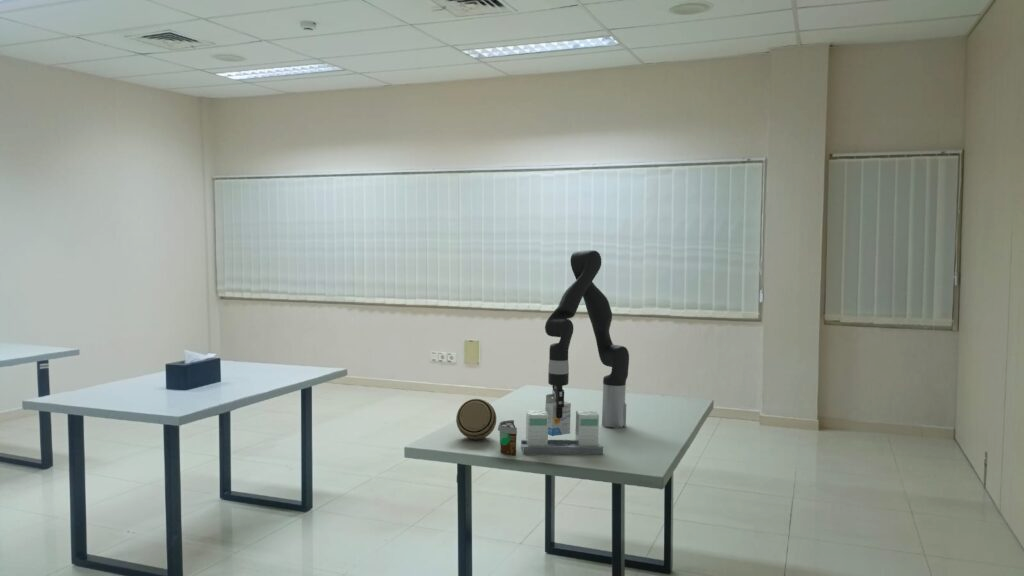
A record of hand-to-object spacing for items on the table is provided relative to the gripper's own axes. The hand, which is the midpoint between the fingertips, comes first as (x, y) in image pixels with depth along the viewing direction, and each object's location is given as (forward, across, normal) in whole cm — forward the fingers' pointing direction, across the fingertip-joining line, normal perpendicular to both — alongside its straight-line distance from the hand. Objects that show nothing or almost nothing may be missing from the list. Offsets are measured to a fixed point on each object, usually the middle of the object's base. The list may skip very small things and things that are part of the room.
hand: (557, 415), depth 275 cm
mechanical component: (+10, +3, +30) cm, 32 cm away
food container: (+10, -15, +20) cm, 27 cm away
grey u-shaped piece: (+10, -13, 0) cm, 16 cm away
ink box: (+7, 0, 0) cm, 7 cm away
